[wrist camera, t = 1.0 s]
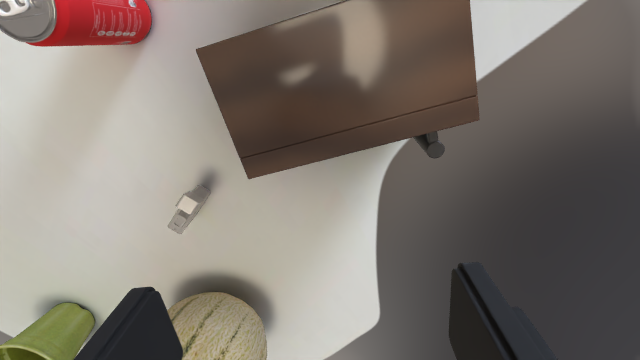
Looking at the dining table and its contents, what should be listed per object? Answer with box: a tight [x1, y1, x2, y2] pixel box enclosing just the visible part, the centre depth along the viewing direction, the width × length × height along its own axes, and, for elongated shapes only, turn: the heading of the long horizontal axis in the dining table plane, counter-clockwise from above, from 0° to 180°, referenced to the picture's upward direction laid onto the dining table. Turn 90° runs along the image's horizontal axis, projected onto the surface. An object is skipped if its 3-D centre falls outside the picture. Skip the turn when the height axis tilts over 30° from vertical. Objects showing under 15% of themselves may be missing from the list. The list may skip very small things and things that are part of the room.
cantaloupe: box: [167, 292, 267, 360], centre depth 39 cm, size 15×15×15 cm
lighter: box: [168, 185, 211, 234], centre depth 34 cm, size 7×2×8 cm, turn 144°
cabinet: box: [196, 0, 479, 179], centre depth 27 cm, size 10×18×11 cm, turn 106°
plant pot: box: [0, 303, 95, 360], centre depth 44 cm, size 9×9×9 cm
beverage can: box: [0, 0, 152, 46], centre depth 25 cm, size 5×5×12 cm
